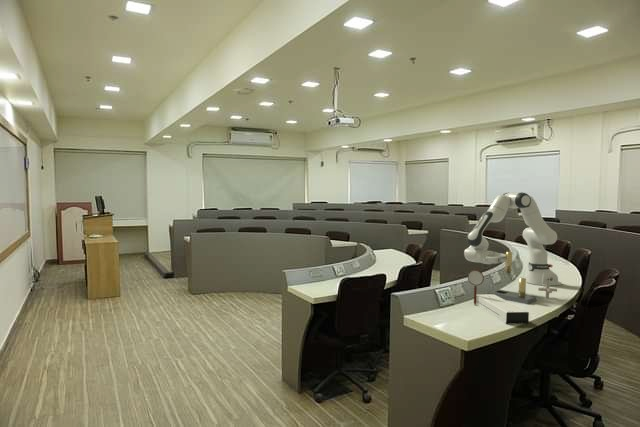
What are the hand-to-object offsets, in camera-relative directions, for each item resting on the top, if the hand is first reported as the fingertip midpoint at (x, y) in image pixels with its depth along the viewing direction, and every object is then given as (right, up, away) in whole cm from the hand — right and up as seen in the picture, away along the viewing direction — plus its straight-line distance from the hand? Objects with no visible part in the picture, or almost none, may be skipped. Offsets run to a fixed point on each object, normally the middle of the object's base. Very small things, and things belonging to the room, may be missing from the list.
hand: (510, 260), depth 255 cm
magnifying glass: (-31, -23, -24) cm, 45 cm away
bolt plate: (-3, -22, -9) cm, 24 cm away
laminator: (-23, -24, -39) cm, 52 cm away
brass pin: (-1, -8, +1) cm, 8 cm away
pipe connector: (+19, -22, -7) cm, 30 cm away
